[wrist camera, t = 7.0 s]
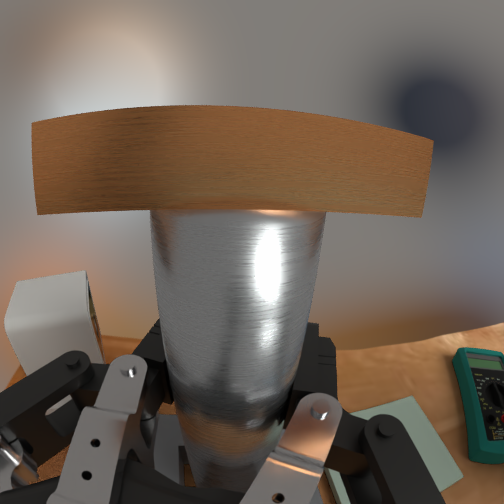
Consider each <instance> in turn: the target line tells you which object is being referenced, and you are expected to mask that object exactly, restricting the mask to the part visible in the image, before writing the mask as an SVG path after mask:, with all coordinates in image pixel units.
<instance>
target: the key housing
mask: <svg viewBox="0 0 504 504" xmlns="http://www.w3.org/2000/svg"><path fill="white" fill-rule="evenodd" d="M285 430H286V429H283V428H282V432H281V436H280V439H281V437H282V436H283V434H284V432H285ZM280 439H279V441H280ZM154 463H155V470H157V471H158V472H160V473H161V474H163V475H165V476H166V477H168V478H170V479H171V480H173V481H175V482H176V483H178V484H180V485H182V486H185V485H184V464H189V461H188V457H187V453H186V449H185V446H184V442H183V438H182V434H181V430H180V426H179V421H178V417H177V415H162V414H160V415H159V421H158V427H157V434H156V440H155V446H154ZM309 504H323V501H322V498H321V495H320V492H319V489H318V486H317V487H316V490H315V492H314V494H313V496H312V499H311V501H310V503H309Z"/></svg>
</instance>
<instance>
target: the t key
mask: <svg viewBox="0 0 504 504" xmlns="http://www.w3.org/2000/svg"><path fill="white" fill-rule="evenodd" d="M432 150H433V140H430V139H427V138H423V137H420V136H417V135H413V134H409V133H406V132H402V131H398V130H394V129H390V128H386V127H382V126H377V125H373V124H368V123H363V122H358V121H353V120H348V119H343V118H337V117H331V116H324V115H318V114H312V113H304V112H296V111H288V110H278V109H268V108H255V107H254V108H253V107H238V106H211V105H208V106H207V105H185V106H184V105H179V106H151V107H136V108H123V109H113V110H104V111H97V112H89V113H81V114H76V115H69V116H63V117H57V118H52V119H47V120H42V121H38V122H33V123H32V164H33V177H34V178H33V179H34V190H35V199H36V207H37V215H45V214H60V213H79V212H101V211H127V210H150V223H151V239H152V252H153V265H154V275H155V285H156V294H157V301H158V310H159V317H160V325H161V332H162V339H163V345H164V351H165V357H166V363H167V368H168V374H169V379H170V384H171V389H172V394H173V399H174V404H175V408H176V413H177V417H178V421H179V426H180V430H181V434H182V438H183V442H184V446H185V449H186V453H187V457H188V461H189V464H190V468H191V471H192V474H193V478H194V481H195V484H196V487H200V488H222V489H226V490H231V491H236V492H241V493H247V491H248V489H249V488H250V486H251V485H252V483H253V481H254V480H255V478H256V476H257V475H258V473H259V471H260V470H261V468H262V466H263V465H264V463H265V461H266V460H267V458H268V456H269V455H270V453H271V452H272V451H273V450H275V448H276V447H277V445H278V443H279V439H280V436H281V432H282V428H283V424H284V419H285V415H286V411H287V407H288V403H289V399H290V395H291V391H292V387H293V383H294V379H295V377H296V373H297V369H298V365H299V360H300V356H301V351H302V347H303V342H304V337H305V333H306V328H307V323H308V318H309V313H310V308H311V303H312V297H313V291H314V286H315V280H316V275H317V269H318V262H319V257H320V250H321V244H322V238H323V231H324V224H325V217H326V212H342V213H361V214H380V215H393V216H407V217H420V218H421V217H422V212H423V208H424V202H425V197H426V191H427V186H428V179H429V173H430V166H431V158H432Z"/></svg>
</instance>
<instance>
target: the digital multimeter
mask: <svg viewBox="0 0 504 504" xmlns="http://www.w3.org/2000/svg"><path fill="white" fill-rule="evenodd" d="M452 362H453V366H454V369H455V373H456V376H457V380H458V383H459V387H460V391H461V396H462V401H463V405H464V411H465V418H466V426H467V434H468V450H469V459H470V460H471V461H475V462H480V463H486V464H500V463H504V355H503V353H501V352H498V351H492V350H486V349H478V348H467V347H465V348H459V349H458V350H457V352H456V354H455V356H454V358H453V359H452ZM471 372H472V373H471Z"/></svg>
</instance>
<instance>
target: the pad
mask: <svg viewBox="0 0 504 504" xmlns="http://www.w3.org/2000/svg"><path fill="white" fill-rule="evenodd" d="M350 414H351V415H354V416H357V417H360V418H363V419H366V420H369V419H370V418H371V417H373V416H375V415H379V414H388V415H392V416H394V417H396V418H397V419H399V420H400V421H401V422H402V423H403V425H404V427H405V428H406V430H407V432H408V434H409V436H410V437H411V439H412V441H413V443H414V445H415V446H416V448H417V450H418V452H419V454H420V455H421V457H422V459H423V461H424V463H425V465H426V467H427V468H428V470H429V472H430V474H431V476H432V478H433V480H434V482H435V484H436V486H437V488H438V489H439V491H440V492H442V491H443V490H445V489H446V488H448V487H450V486H451V485H453V484H454V483H456V482H457V481H459V480H460V479H461V478H463V477H464V476H463V474H462V473H461V471H460V469H459V468H458V466H457V464H456V463H455V461H454V459H453V458H452V456H451V455H450V453H449V451H448V450H447V448H446V446H445V445H444V443H443V442H442V440H441V439H440V437H439V435H438V434H437V432H436V431H435V429H434V428H433V426H432V425H431V423H430V421H429V420H428V418H427V417H426V415H425V414H424V412H423V411H422V409H421V408H420V406H419V405H418V403H417V402H416V400H415V399H414V397H413V396H409V397H406V398H403V399H400V400H397V401H393V402H390V403H387V404H383V405H380V406H376V407H373V408H369V409H365V410H361V411H357V412H353V413H350ZM324 470H325V473H326V476H327V479H328V481H329V484H330V487H331V490H332V492H333V495H334V498H335V501H336V503H337V504H350V501H349V498H348V496H347V493H346V490H345V487H344V485H343V482H342V479H341V476H340V474H339V472H337V471H334V470H331V469H329V468H326V467H324Z"/></svg>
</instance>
